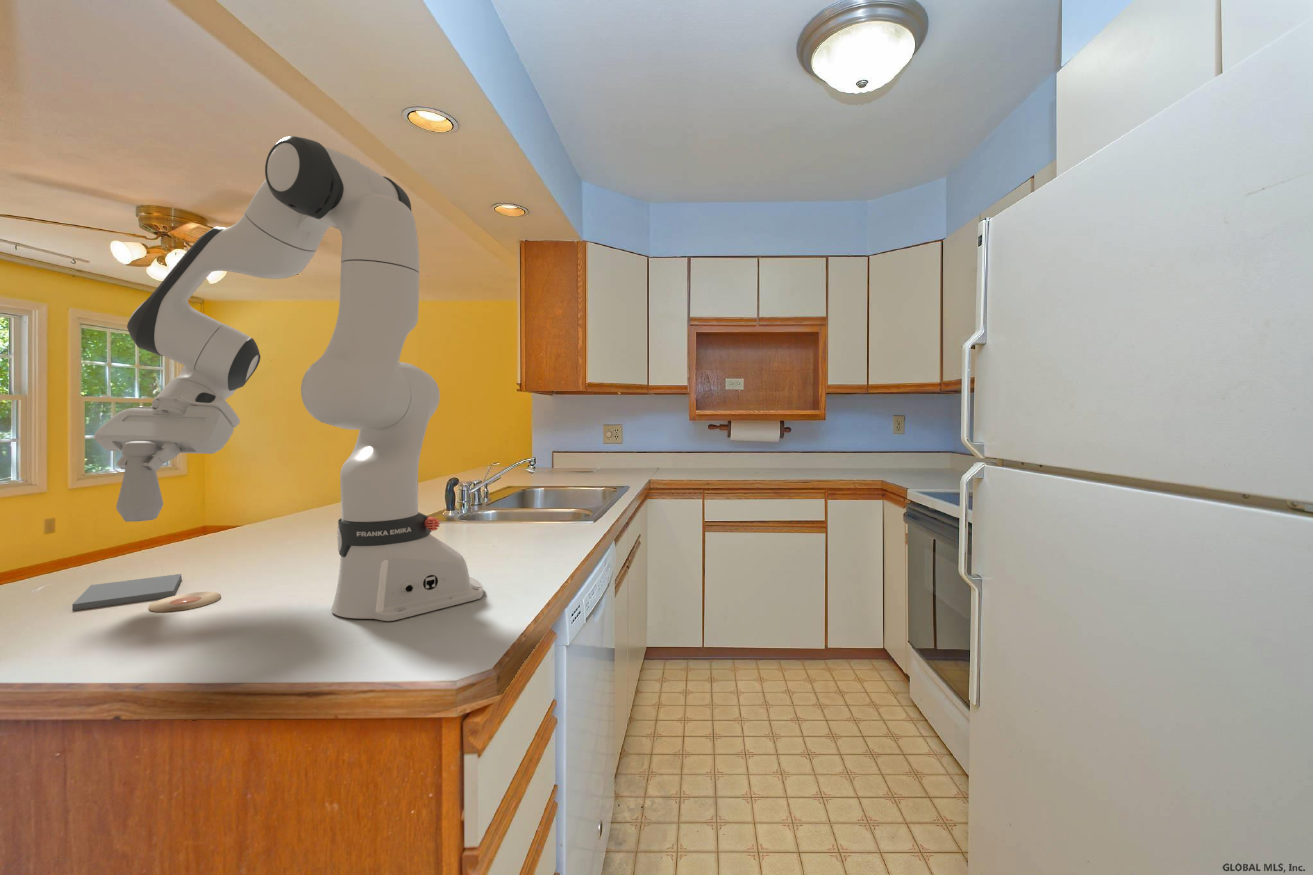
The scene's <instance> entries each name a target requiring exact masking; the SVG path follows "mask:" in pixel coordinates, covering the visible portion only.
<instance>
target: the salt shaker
mask: <svg viewBox="0 0 1313 875" xmlns="http://www.w3.org/2000/svg"><path fill="white" fill-rule="evenodd" d="M122 453H123V455H125V456H128V458H127V464H126V468H125V470H124V473H123V478H122V482H121V487H120V491H119V494H118V499H117V502H116V511H117V513H119V515H120V516H121V517H122V520H123V521H124V522H126V523H127V522H130V523H131V522H133V523H134V522H136V523H137V522H147V521H153V520H156V519H158V516H159V515H160V512H161V511H162V509H163V506H164V499H163V496H162V491H161V487H160V483H159V478H158V474H157V471H156V470H148V469H146V468H145V467H144V466H143V462H144V461H146V459H147V457H148V456H154V455H156V454H157V453H158V452H157V445H156V444H155V443H154V442H149V441H131V442H126V443H125V444H124V445H123V448H122V451H121V454H122Z"/></svg>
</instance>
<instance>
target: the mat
mask: <svg viewBox="0 0 1313 875" xmlns="http://www.w3.org/2000/svg"><path fill="white" fill-rule="evenodd" d="M181 581H182V573H177V574H169V575H160V576H155V577H147V578H146V577H145V578H138V579H137V578H136V579H130V580H129V579H128V580H122V581H121V580H120V581H111V582H107V583H105V582H104V583H98V584H97V583H96V584H90V586H88V588H86V590H85V591H84V592H83V593H81V595H80V596H79V597H78V598H77V599H76V600H75V601H74V602H73V603H72V607H71V608H72V611H80V610H87V609H88V610H89V609H95V608H100V607H107V606H109V607H110V606H116V605H122V604H129V603H137V602H138V603H139V602H144V601H151V600H157V599H159V600H160V599H164V598H168V597H172V596H175V595H176V593H177V590H178V588H179V585H180V583H181Z"/></svg>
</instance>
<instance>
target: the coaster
mask: <svg viewBox="0 0 1313 875" xmlns="http://www.w3.org/2000/svg"><path fill="white" fill-rule="evenodd" d="M221 598H222V595H221V593H219V592H216V591H198V592H197V591H196V592H188V593H181V594H177V595H176V594H175V595H174V596H172V597H166V598H160V599H159V600H155V601H154V602H151V603H150V604H149V605H148V610H149V611H150V612H155V613H156V612H157V613H168V612H169V613H172V612H180V611H185V610H191V609H192V610H193V609H197V608H201V607H205V606H209V605H210V604H213V603H215V602H218V601H219V600H220V599H221Z"/></svg>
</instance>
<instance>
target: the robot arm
mask: <svg viewBox="0 0 1313 875" xmlns="http://www.w3.org/2000/svg"><path fill="white" fill-rule="evenodd" d="M264 176H265V180H264V181H263V182H262V183H261V185H260V186H259V187H258V189H257V191H256V192H255V194H254V195H253V197H252V198H251V200H250V201H249V203H248V206H247V207H246V209H245V211H244V213H243V215H242V216H241V217H240V218H239V220H238V221H237V222H236V223H234V224H232V225H230V226H228V227H223V226H215V227H213V228H211V229H208V230H207V231H206V232H205V233H204V234H202V235H201V236H200V237H198V239H197V240H196V241H194V243H193V244H192V245H191V246H190V248H189V249H188V250H187V251H186V252H185V253H184V255H183V256H182V257H181V258H180V259H179V261H177V263H176V264H175V266H174V267H173V268H172V269H171V270H170V271H169V272H168V274H167V275H166V277H164V279H163V280H162V282H160V283H159V285H158V286H157V287H156V288H155V290H154V291H153V292H152V293H151V294H150V296H149V297H148V298H147V299H145V300H144V301H143V302H142V303H141V304H140V305H138V306H137V308H136V309H134V311H133V312H132V314H130V316H129V319H128V323H127V324H126V328H127V331H128V334H129V335H130V338H131V339H132V341H133V342H134V344H135V345H136V346H137V348H138V349H142V350H145V351H147V352H150V353H152V354H155V355H158V356H160V357H164V358H168V359H170V360H172V361H174V362H176V363H178V364H180V365H183V367H182V368H181V370H180V373H179V375H177V376H176V377H174V378H172V379H170V381H169V382H168V383H167V384H166V385H165V386H164V388H163V389H162V390H161V391H160V392H159V393H158V394H157V395H156V396H155V397H154V399H153V400H152V401H151V406H141V405H139V406H138V405H137V406H134V407H132V408H131V407H130V408H125V409H123V410H120V411H118V412H117V413H116V414H114V415H113V416H112V417H110V418H109V419H108V420H107V421H106V422H104V424H102V425H101V426H100V428H98V429H97V430H96V431H95V433H94V436H93V437H94V440H95V441H96V442H97V443H98V444H99V445H100V446H101V447H102V448H103V449H104V450H106V451H108V452H121V456H120V458H119V459H118V460H117V461H116V466H117V467H118V468H120V469H121V470H123V471H125V468H126V464H127V458H128V456H125V455H123V453H122V448H123V445H124V444H125V443H126V442H131V441H149V442H154V443H155V444H156V445H157V453H156V455H153V456H148V457H147V459H146V461H144V462H143V466H144V467H145V468H146V469H148V470H156V472H157V471H159V470H160V469H161V467H162V466H163V465H164V464H166V463H167V462H169V461H171V460H173V459H174V458H177V457H178V455H179V454H208V455H209V454H210V455H213V454H216V453H217V452H220V451H221V450H222V449H223V448H224V447H225V446H226V444H227V443H228V442H229V440H230V438H231V437H232V435H233V433H234V431H235V430H234V428H236V427H238V426H239V425H240V422H241V420H240V418H239V415H238V414H237V413H236V412H235V410H234V409H233V408H232V406H231V405H230V404H229V402H227V399H229V398H230V397H231V396H232V395H234V393H235V392H236V391H237V389H240V388H242V387H244V386H245V385H246V383H247V382H248V381H249V379H251V377H252V376H253V374H254V373H255V371H256V370H257V369H258V366H259V364H260V362H261V353H260V350H259V346H258V344H257V343H256V340H255V339H254V338H253V337H251V336H249V335H247V334H246V333H244V332H242V331H240V330H238V329H237V328H234V327H232V326H230V325H228V324H225V323H222V322H221V321H219V320H217V319H215V318H213V317H210V316H208V315H207V314H205V313H203V312H200V311H199V310H197V309H196V308H194V307H192V305H190V303H189V300H190V298H191V297H192V296H193V295H194V293H195V292H196V291H197V290H198V289H199V287H200V286H201V285H202V284H203V283H204V282H205V280H206V279H207V278H208V277H209V275H210V274H211V273H212V272H231V273H235V274H236V273H237V274H243V275H246V276H250V277H255V278H259V279H267V280H271V279H272V280H277V279H278V280H280V279H289V278H291V277H294V276H297V275H299V274H301V273H302V272H303V271H304V269H305V268H306V267H307V266H308V264H309V263H310V262H311V260H312V258H313V257H314V256H315V254H316V252H317V250H318V249H319V247H320V244H321V242H322V240H323V238H324V237H325V236H324V235H325V234H326V233H327V231H328V230H329V228H331V227H332V228H335V229H337V230H339V231H340V234H341V251H340V252H341V253H340V254H341V255H340V283H339V284H340V286H339V305H338V314H337V318H336V323H335V327H334V330H333V333H332V335H331V338H330V340H329V342H328V345H327V347H326V348H325V349H326V350H324V352H323V354H322V355H321V357H319V358H318V359H317V360H316V361H315V362H313V363H312V364H311V365H310V366H309V367H308V368H307V370H306V371H305V373H304V375H303V378H302V380H301V385H300V394H301V400H302V403H303V406H304V408H305V409H306V411H307V412H308V413H309V415H310V416H311V417H313V418H314V419H315V420H317V421H318V422H320V423H323V424H326V425H329V426H333V427H336V428H340V429H343V430H344V429H345V430H353V431H354V430H355V431H356V430H359V431H358V434H357V438H356V442H355V445H354V448H353V450H352V452H351V453H350V455H349V457H348V458H347V459H346V460H345V461H344V463H343V464H342V466H341V469H340V471H339V474H340V479H339V480H340V481H339V482H340V514H341V515H340V516H341V517H340V518H339V519H338V522H337V525H338V527H337V530H336V532H337V551H338V553H339V555H340V560H339V563H340V564H339V571H338V572H339V574H338V579H337V586H336V592H335V596H334V599H333V603H332V606H331V612H332V613H333V614H334V615H335V616H339V617H342V618H346V619H347V618H348V619H365V620H366V619H371V620H372V619H374V620H379V621H384V622H391V621H392V622H393V621H397V620H402V619H405V618H409V617H413V616H417V615H421V614H426V613H429V612H434V611H437V610H440V609H446V608H448V607H453V606H455V605H456V606H457V605H460V604H465V603H469V602H472V601H476V600H480V599H481V598H482V597H483V596H484V587H483V585H482V583H481V582H479V580H477V579H475V578H474V577H471V576H470V573H469V569H468V565H467V563H466V560H465V557H464V556H463V555H462V554H461V553H460V552H459V551H457V550H456V549H454V548H453V547H451V546H450V545H448V544H446V543H445V542H443V541H442V540H440V539H438V538H437V537H436V536H434V535H433V534H431V533H432V531H433V532H434V531H436V530H438V529H439V527H440V525H441V523H440V520H438V518H437V517H434V516H428V515H426V514H424V513H421V512H419V463H420V458H421V452H422V447H423V442H424V439H425V435H426V432H427V428H428V424H429V422H430V420H431V418H432V416H433V415H434V414H435V413H436V412H437V409H438V408H439V404H440V399H441V398H440V397H441V394H440V393H441V392H440V388H439V385H438V383H437V382H436V380H435V379H434V378H433V377H432V375H430V374H429V373H428V372H427V371H424V370H423V369H421V368H420V367H417V366H415V365H414V364H411V363H408V362H402V361H400V359H401V358H400V357H401V354H402V349H403V348H404V347H403V346H404V344H405V342H406V339H407V337H408V335H409V334H410V333H411V332H412V330H414V329H415V328H416V326H417V324H418V321H419V307H420V306H419V301H420V299H419V298H420V297H419V296H420V248H419V239H418V232H417V226H416V225H417V224H416V221H415V217H414V214H413V212H412V203H411V200H410V198H409V196H408V194H407V193H406V191H405V190H404V189H403V187H401V186H400V185H399V184H398V183H396V182H395V181H393V180H392V179H391V178H389V177H386V176H383V175H381V174H380V173H379V172H376V171H375V170H373V169H372V168H370V167H369V166H366V165H365V164H363V163H361V162H360V161H359V160H357V159H355V158H354V157H351V156H349V155H346V154H344V153H343V152H339V151H337V150H335V149H332V148H329V147H326V146H325V145H323V144H322V143H320V142H319V141H316V140H313V139H310V138H305V137H300V136H296V135H295V136H293V135H292V136H291V135H289V136H285V137H283V138H281V139H280V140H278V142H276V143H275V144H274V145H273V146H272V147H271V149H270V151H269V152H268V155H267V156H266V159H265V165H264Z"/></svg>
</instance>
